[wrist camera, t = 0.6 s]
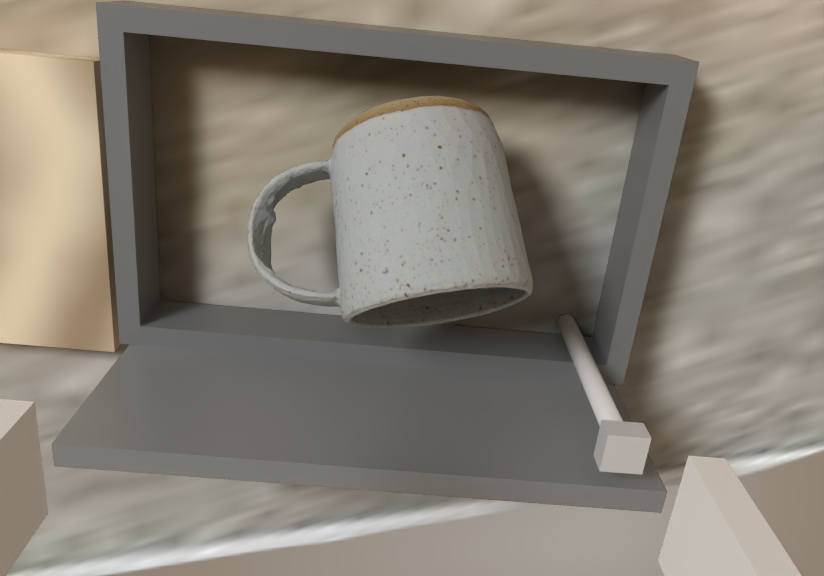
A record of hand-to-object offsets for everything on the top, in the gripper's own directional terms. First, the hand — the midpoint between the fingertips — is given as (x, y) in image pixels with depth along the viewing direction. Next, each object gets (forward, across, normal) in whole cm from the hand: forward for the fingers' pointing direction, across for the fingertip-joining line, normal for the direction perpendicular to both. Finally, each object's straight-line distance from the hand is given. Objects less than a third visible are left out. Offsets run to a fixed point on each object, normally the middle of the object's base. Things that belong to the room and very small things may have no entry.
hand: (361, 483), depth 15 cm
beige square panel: (+21, -20, -2) cm, 29 cm away
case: (+21, 0, 0) cm, 21 cm away
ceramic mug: (+22, 0, 0) cm, 22 cm away
